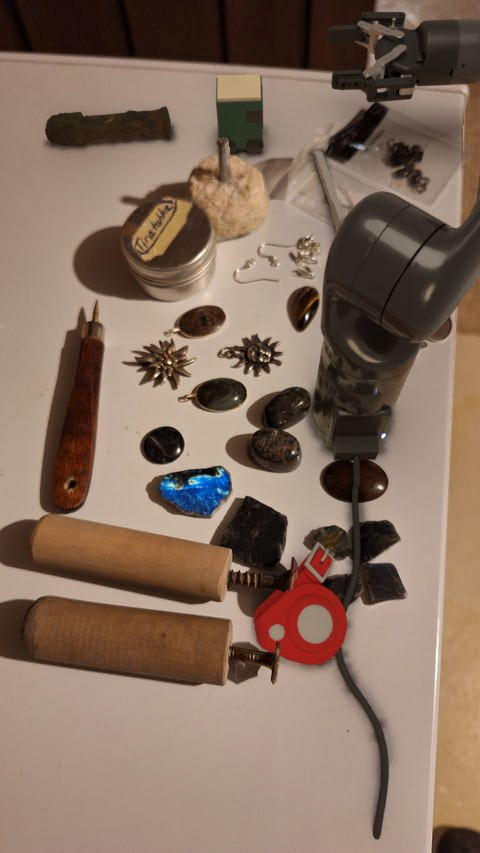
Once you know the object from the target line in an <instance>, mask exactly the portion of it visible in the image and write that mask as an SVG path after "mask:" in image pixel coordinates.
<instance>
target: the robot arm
mask: <svg viewBox="0 0 480 853" xmlns="http://www.w3.org/2000/svg"><path fill="white" fill-rule="evenodd" d="M406 16H407V14H406V13H405V12H404V11H363V12H362V13H361V14H360V19H359V21H358V22H357V23H356V24H342V25H333V26H332V25H331V26H330V27H329V28H328V31H327V44H328V46H347V45H348V46H349V45H352V46H353V45H356V44H357V45H360V46H362V47H364V48H366V49H367V51H368V53H370V54H372V55H373V57H374V60H375V62H374V64H373V65H372V66H370V67H368V68H366V69H365V70H364V71H362V69H340V70H339V69H338V70H333V71H332V74H331V80H330V82H331V83H330V84H331V88H332V89H333V90H338V91H356V90H357V91H358V90H359V91H360V92H361V93H364V94H365V96H366V101H367V103H382V102H395V101H405V100H406V101H408V100H411V99H412V98H413V95H414V92H415V88H416V86H417V87H435V86H437V87H438V86H463V85H464V86H465V85H472V84H477V83H480V18H474V17H473V18H472V17H471V18H452V19H451V18H450V19H449V18H448V19H427V20H426V19H425V20H422V21H421V22H420V23H419V25H418V26H417V27H416V28H414V29H412V28H411V29H410V28H407V27H405V21H406ZM370 22H377V23H376V24H375V25H374V24H372V23H370ZM367 36H369V37H367ZM380 36H381V37H380ZM381 89H385V90H384V91H378V90H381ZM474 197H475V198H474V201H473V206H472V209H471V211H470V212H469V214H468V216H467V218H465V221H464V222H463V223H462V224H461V225H459V226H458V227H457V226H456V227H454V226H452V225H450V224H448V223H447V222H446V221H443V220H442V219H441V218H438V217H437V216H435V215H433V214H431V213H429V212H427V211H426V210H424V209H422V208H421V207H419V206H417V205H414V203H412V202H410V201H408V200H406V199H404V198H403V197H401V196H399V195H397V194H395V193H393V192H390V191H384V190H383V191H381V190H380V191H375V192H372V193H369V194H368V195H366V196H365V197H363V198H361V199H360V200H359V201H358V202H357V203H356V204H355V205H354V206H353V207H352V208H351V209H350V210H349V212H347V214H346V217H345V218H344V220H343V221H342V223H341V225H340V226H339V228H338V230H337V229H336V233H335V234H334V237H333V240H332V241H331V244H330V247H329V250H328V252H327V257H326V261H325V265H324V270H323V278H322V290H321V291H322V292H321V312H320V332H321V335H322V337H323V339H322V345H321V350H320V356H319V362H318V368H317V374H316V380H315V387H314V393H313V398H312V402H311V407H310V418H311V422H312V425H313V427H314V429H315V431H316V432H317V433H318V435H319V436H320V437H321V438H322V439H323V440H324V441H325V448H326V449H328V450H332V455H333V461H352V474H353V476H352V477H353V478H352V487H351V514H352V530H353V531H352V532H353V555H352V556H353V558H352V568H351V575H350V578H349V581H348V582H349V583H348V585H347V589H346V592H345V594H344V597H343V600H342V601H341V603H342V605H343V607H344V610H345V613H346V614H347V612H348V609H349V606H350V603H351V600H352V598H353V595H354V592H355V590H356V586H357V584H358V578H359V574H360V568H361V567H360V566H361V526H360V525H361V524H360V513H359V512H360V511H359V510H360V509H359V489H360V488H359V487H360V483H361V464H360V461H376V459H377V457H378V455H379V454H380V444H381V442H382V439H384V438H385V437H386V431H387V428H388V427H389V424H390V421H391V419H392V417H393V411H394V409H395V406H396V404H397V403H398V400H399V397H400V395H401V392H403V391H402V390H403V388H404V385H405V383H406V381H407V380H408V377H409V374H410V373H411V370H412V368H413V366H414V364H415V362H416V359H417V357H418V355H419V352H420V350H421V348H422V344H423V342H424V341H426V340H428V339H429V338H431V337H432V336H433V335H434V334H435V333H436V332H437V331H439V330H440V329H441V327H442V326H443V325H444V324H445V323H446V322H447V321H448V319H449V318H450V317H451V316H452V314H453V313H454V312H455V310H456V309H457V308H458V306H459V305H460V303H461V302H462V301H463V299H464V298H465V297H466V295H467V293H468V292H469V291H470V289H471V288H472V287H473V285H474V283H476V281H477V279H478V277H479V276H480V173H479V176H478V182H477V188H476V193H475V196H474ZM342 649H343V648H342V646H341V647H340V648H339V649H338V651H337V653H336V654H335V655H334V656H335V660H336V663H337V666H338V670H339V672H340V674H341V677H342V678H343V680H344V682H345V684H346V685H347V687H348V688H349V690H350V691H351V693H352V694H353V696H354V697H355V699H356V700H357V701H358V703H359V705H360V706H361V708H362V709H363V711H364V712H365V714H366V716H367V717H368V719H369V721H370V723H371V725H372V727H373V730H374V732H375V735H376V740H377V743H378V748H379V755H380V781H379V790H378V798H377V804H376V809H375V815H374V821H373V829H372V837H373V839H374V840H376V841H378V840H380V838H381V836H382V830H383V823H384V816H385V811H386V804H387V798H388V790H389V779H390V777H389V776H390V762H389V752H388V751H389V750H388V746H387V741H386V736H385V733H384V731H383V728H382V725H381V722H380V720H379V718H378V716H377V715H376V712H375V711H374V710H373V708H372V706H371V705H370V703H369V702H368V700H367V699H366V697H365V696H364V694H363V693H362V692H361V690H360V689H359V687H358V686H357V684H356V682H355V681H354V680H353V678H352V676H351V674H350V672H349V671H348V668H347V665H346V662H345V659H344V655H343V650H342Z"/></svg>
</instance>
